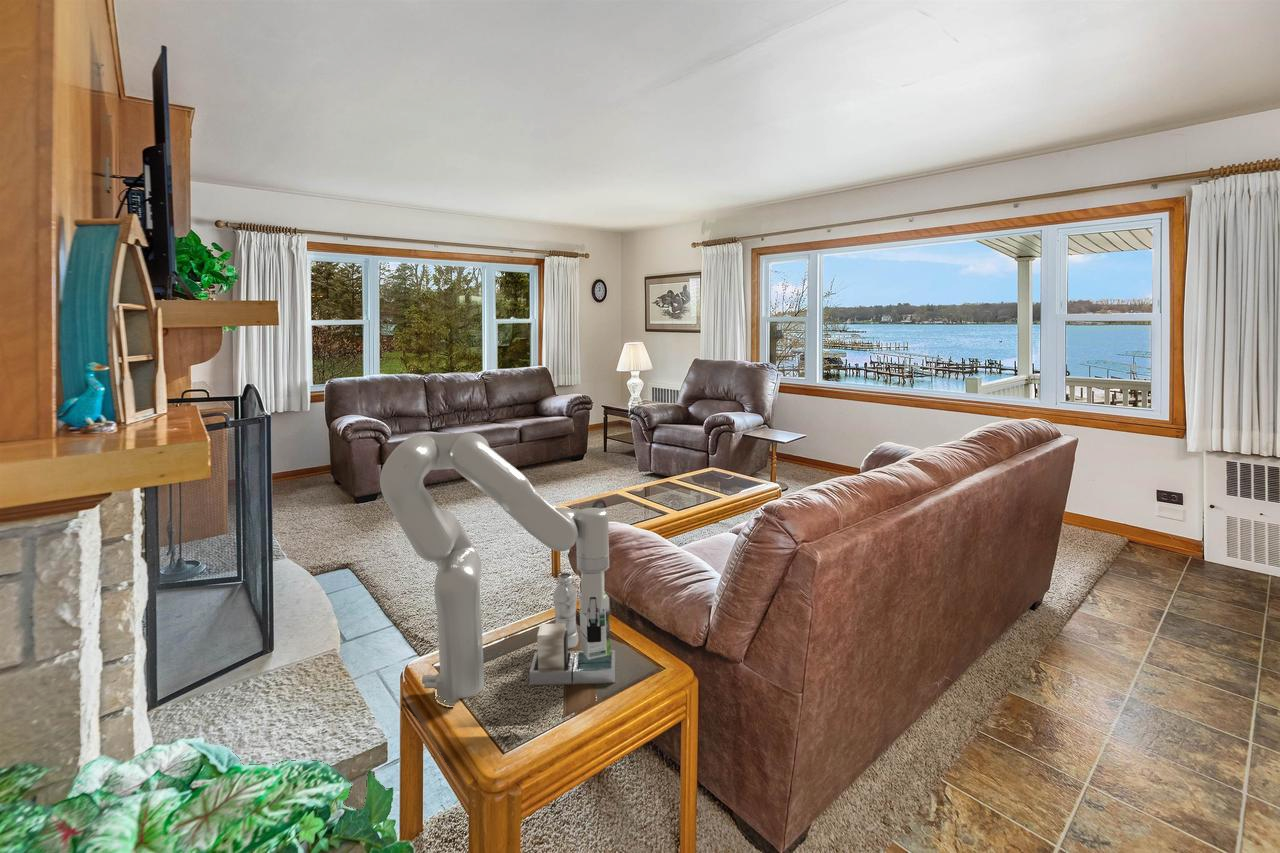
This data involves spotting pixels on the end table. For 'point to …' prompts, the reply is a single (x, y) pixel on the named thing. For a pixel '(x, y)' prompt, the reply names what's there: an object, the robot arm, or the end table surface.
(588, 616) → the robot arm
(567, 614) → the plastic bottle
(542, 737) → the end table surface
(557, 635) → the beige curved-top block
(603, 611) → the syrup box
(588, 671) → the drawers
